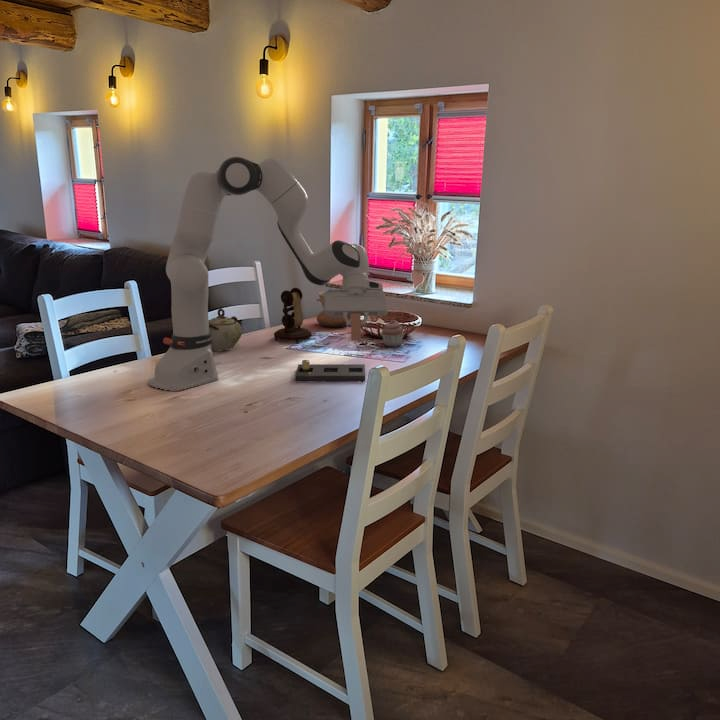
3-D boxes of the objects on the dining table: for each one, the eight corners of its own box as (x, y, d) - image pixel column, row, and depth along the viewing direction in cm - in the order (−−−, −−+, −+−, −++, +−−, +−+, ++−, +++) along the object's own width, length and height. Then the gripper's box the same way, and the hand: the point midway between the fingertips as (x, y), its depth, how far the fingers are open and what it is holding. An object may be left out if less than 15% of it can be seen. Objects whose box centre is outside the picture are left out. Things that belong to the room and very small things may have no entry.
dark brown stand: (299, 345, 235) (298, 293, 230) (266, 341, 242) (264, 290, 236) (318, 337, 248) (317, 287, 243) (286, 333, 254) (285, 284, 249)
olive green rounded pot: (222, 339, 244) (219, 302, 239) (254, 344, 238) (252, 305, 233) (189, 352, 226) (186, 312, 222) (223, 357, 220) (220, 316, 216)
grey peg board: (295, 381, 194) (294, 366, 193) (298, 370, 206) (298, 355, 204) (365, 381, 194) (365, 366, 193) (364, 370, 206) (364, 355, 205)
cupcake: (375, 345, 235) (376, 320, 232) (387, 340, 243) (388, 315, 240) (397, 349, 231) (398, 323, 228) (409, 343, 238) (409, 318, 235)
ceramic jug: (307, 326, 266) (307, 293, 262) (327, 319, 278) (326, 288, 273) (342, 332, 257) (342, 298, 253) (361, 325, 269) (361, 292, 264)
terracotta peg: (351, 340, 195) (350, 315, 193) (351, 337, 198) (351, 313, 196) (360, 340, 195) (360, 315, 193) (360, 337, 198) (360, 313, 196)
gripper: (323, 284, 199) (322, 321, 192) (387, 283, 199) (388, 320, 192) (324, 295, 204) (323, 331, 198) (386, 294, 204) (387, 330, 198)
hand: (355, 326), depth 195 cm, fingers closed on terracotta peg, 3 cm apart
